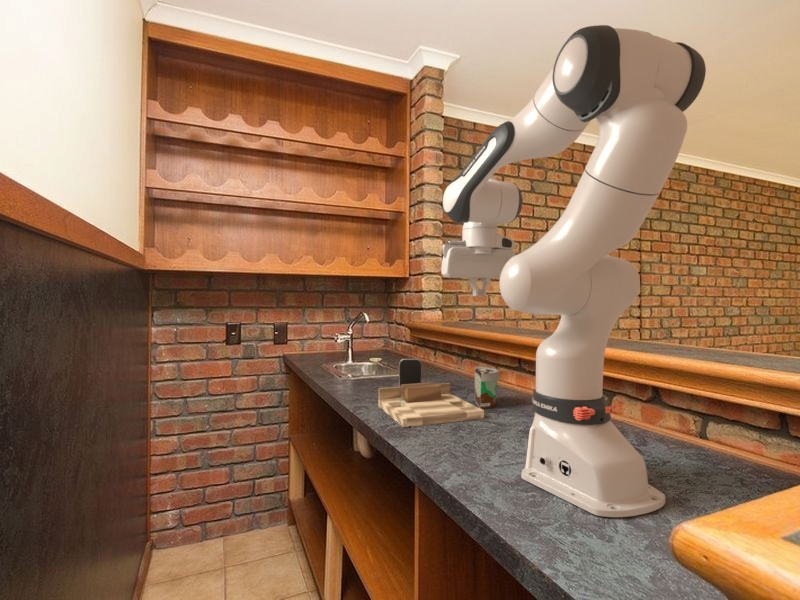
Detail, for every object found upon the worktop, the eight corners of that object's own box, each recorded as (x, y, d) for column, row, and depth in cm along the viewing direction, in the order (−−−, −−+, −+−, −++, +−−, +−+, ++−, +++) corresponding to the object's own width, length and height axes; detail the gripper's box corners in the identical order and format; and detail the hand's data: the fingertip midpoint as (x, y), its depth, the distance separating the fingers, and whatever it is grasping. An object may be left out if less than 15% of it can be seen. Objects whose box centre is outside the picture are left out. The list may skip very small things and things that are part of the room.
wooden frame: (484, 418, 107) (484, 398, 107) (403, 427, 100) (403, 406, 99) (448, 399, 126) (448, 382, 126) (378, 405, 118) (378, 388, 118)
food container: (503, 411, 114) (504, 374, 114) (481, 410, 114) (481, 374, 114) (494, 399, 126) (494, 366, 126) (474, 399, 126) (474, 366, 126)
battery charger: (420, 393, 133) (420, 357, 133) (421, 396, 129) (421, 359, 129) (398, 393, 133) (398, 357, 133) (398, 396, 129) (399, 359, 129)
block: (440, 400, 117) (441, 385, 117) (407, 403, 114) (407, 388, 114) (433, 395, 122) (433, 382, 122) (401, 398, 119) (401, 384, 119)
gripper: (448, 238, 100) (448, 296, 101) (520, 242, 107) (520, 296, 108) (437, 241, 106) (436, 295, 107) (506, 244, 113) (506, 296, 113)
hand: (479, 296), depth 107 cm, fingers closed
